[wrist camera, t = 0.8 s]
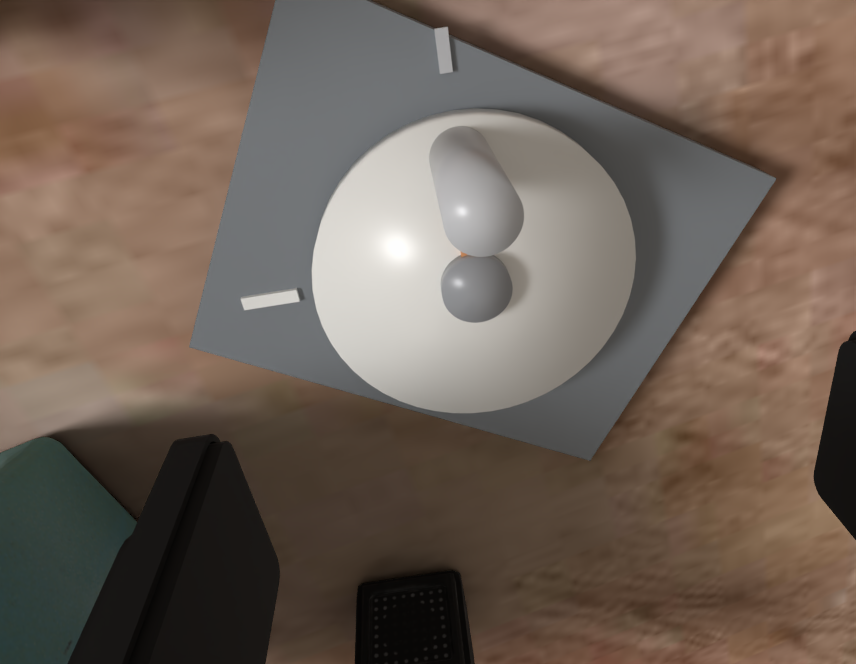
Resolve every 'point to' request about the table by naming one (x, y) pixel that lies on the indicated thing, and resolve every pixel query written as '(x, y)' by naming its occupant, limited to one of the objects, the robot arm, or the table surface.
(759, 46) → the table surface
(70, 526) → the flower pot
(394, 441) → the table surface
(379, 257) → the white round dome
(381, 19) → the stand
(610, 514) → the table surface
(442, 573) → the portable radio
